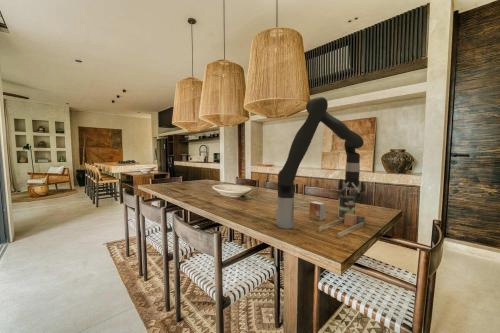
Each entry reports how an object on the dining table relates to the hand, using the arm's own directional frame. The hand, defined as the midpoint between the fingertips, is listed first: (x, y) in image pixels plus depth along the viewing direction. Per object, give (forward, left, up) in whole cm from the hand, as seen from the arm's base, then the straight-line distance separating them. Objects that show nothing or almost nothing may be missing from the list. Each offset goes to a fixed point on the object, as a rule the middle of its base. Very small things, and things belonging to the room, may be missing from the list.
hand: (351, 197), depth 125 cm
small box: (-19, -6, -16) cm, 25 cm away
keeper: (0, 0, -16) cm, 16 cm away
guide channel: (0, -11, -16) cm, 19 cm away
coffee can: (-8, +11, -16) cm, 21 cm away
